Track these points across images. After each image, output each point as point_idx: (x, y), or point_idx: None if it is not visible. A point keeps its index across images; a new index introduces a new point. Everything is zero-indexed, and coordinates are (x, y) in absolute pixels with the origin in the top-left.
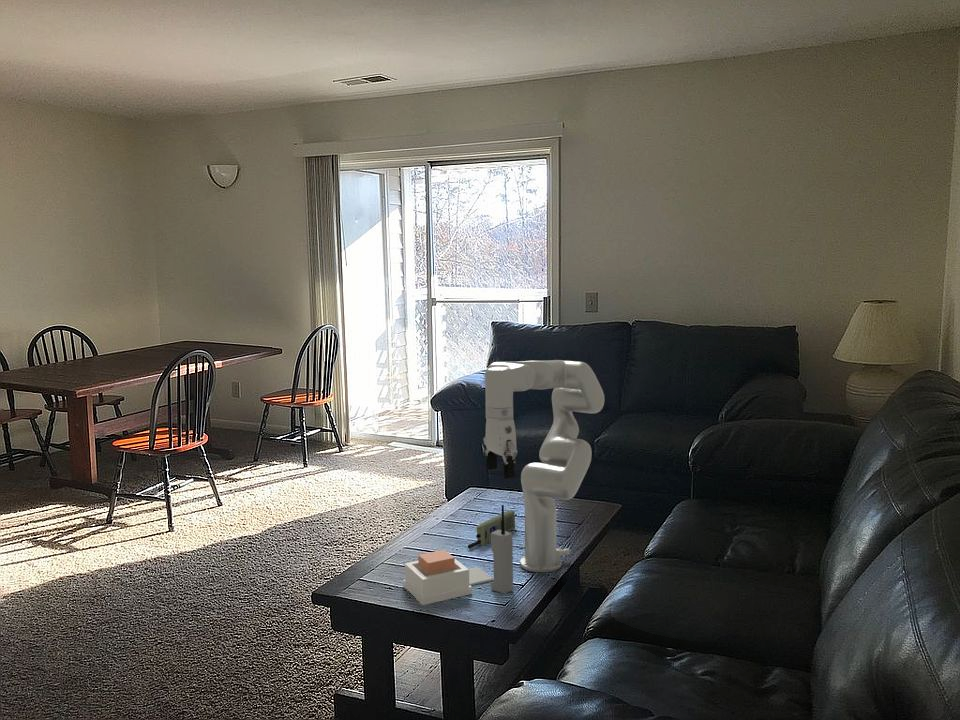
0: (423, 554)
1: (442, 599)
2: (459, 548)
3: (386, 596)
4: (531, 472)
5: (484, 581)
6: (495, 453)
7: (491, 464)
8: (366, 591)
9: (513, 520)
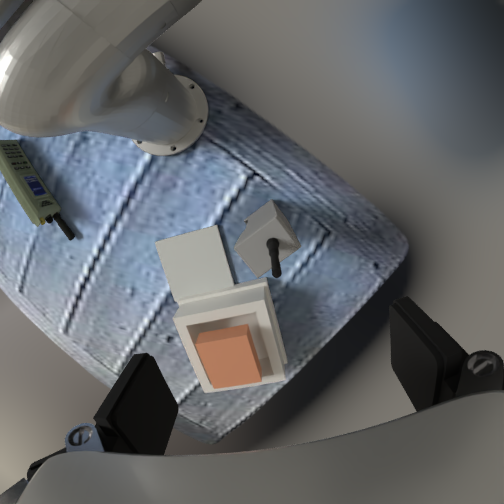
0: (214, 381)
1: (279, 328)
2: (68, 252)
3: (239, 393)
4: (47, 86)
5: (222, 243)
6: (99, 434)
7: (158, 410)
8: (216, 410)
9: (7, 143)
